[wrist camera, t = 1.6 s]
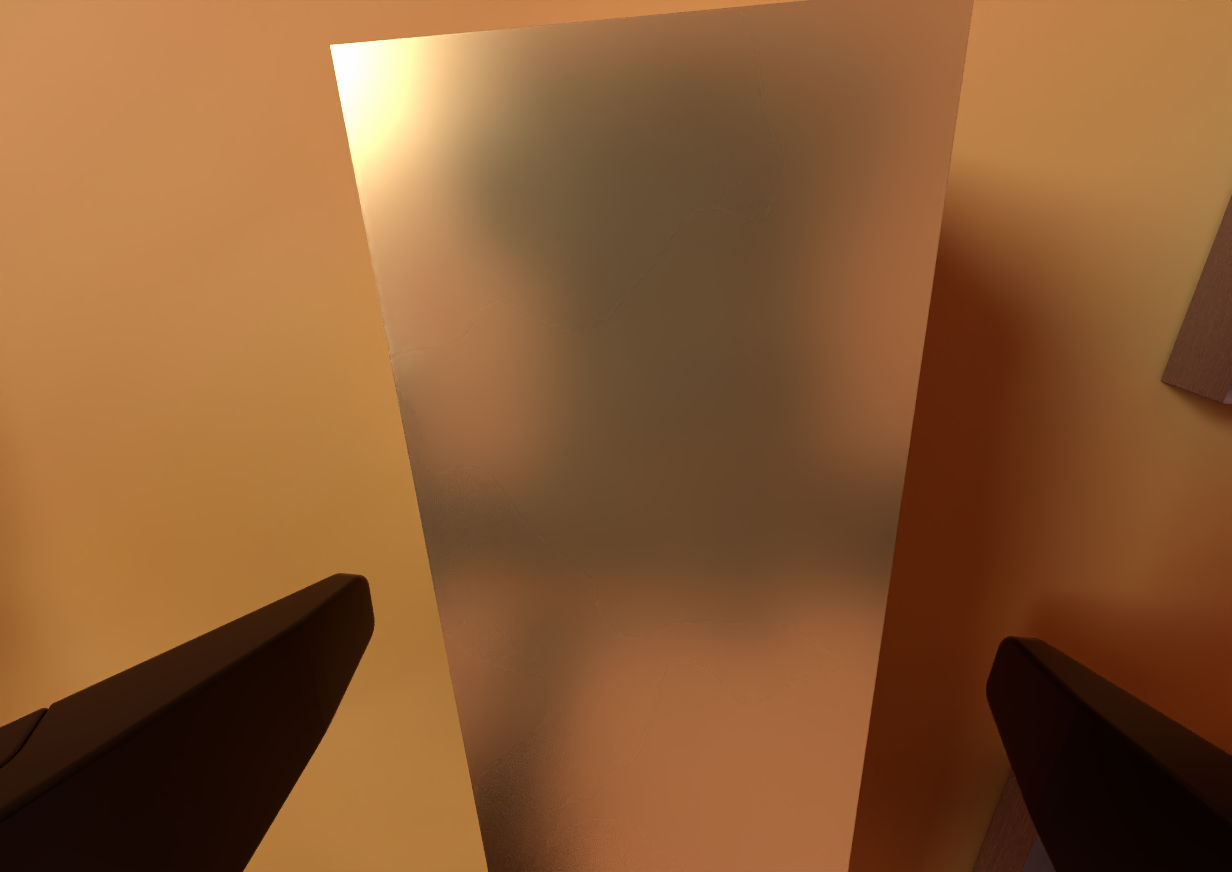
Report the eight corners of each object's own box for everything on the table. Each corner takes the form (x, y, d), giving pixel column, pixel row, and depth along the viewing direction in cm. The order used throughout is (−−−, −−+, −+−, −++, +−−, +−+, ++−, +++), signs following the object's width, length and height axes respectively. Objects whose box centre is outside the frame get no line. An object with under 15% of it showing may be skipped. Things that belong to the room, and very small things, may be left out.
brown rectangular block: (758, 817, 12) (801, 1187, 8) (594, 804, 13) (541, 1148, 8) (799, 122, 8) (977, -17, 3) (537, 141, 8) (329, 44, 3)
